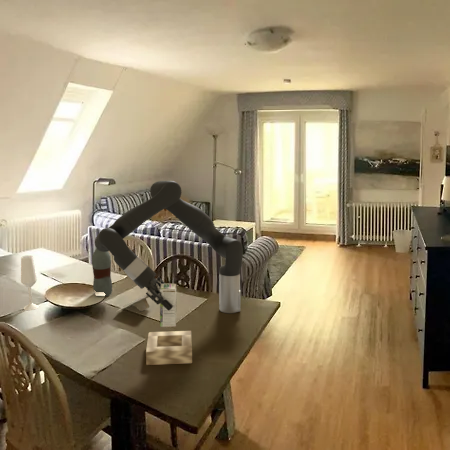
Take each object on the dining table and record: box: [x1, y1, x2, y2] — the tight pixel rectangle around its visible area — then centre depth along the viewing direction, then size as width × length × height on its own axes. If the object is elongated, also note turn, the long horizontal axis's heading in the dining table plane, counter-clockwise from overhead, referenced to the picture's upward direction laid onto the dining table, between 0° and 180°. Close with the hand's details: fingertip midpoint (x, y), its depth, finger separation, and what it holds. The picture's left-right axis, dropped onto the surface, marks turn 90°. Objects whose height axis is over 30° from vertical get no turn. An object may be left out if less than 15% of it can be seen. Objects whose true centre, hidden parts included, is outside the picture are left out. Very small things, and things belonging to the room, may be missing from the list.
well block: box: [145, 330, 193, 366], centre depth 180 cm, size 16×16×5 cm
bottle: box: [91, 247, 113, 297], centre depth 237 cm, size 9×9×30 cm
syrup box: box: [159, 282, 177, 328], centre depth 176 cm, size 6×6×14 cm
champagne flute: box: [20, 255, 40, 311], centre depth 221 cm, size 7×7×24 cm
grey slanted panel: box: [115, 294, 150, 313], centre depth 219 cm, size 16×9×15 cm
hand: (172, 304), depth 176 cm, fingers closed on syrup box, 6 cm apart
